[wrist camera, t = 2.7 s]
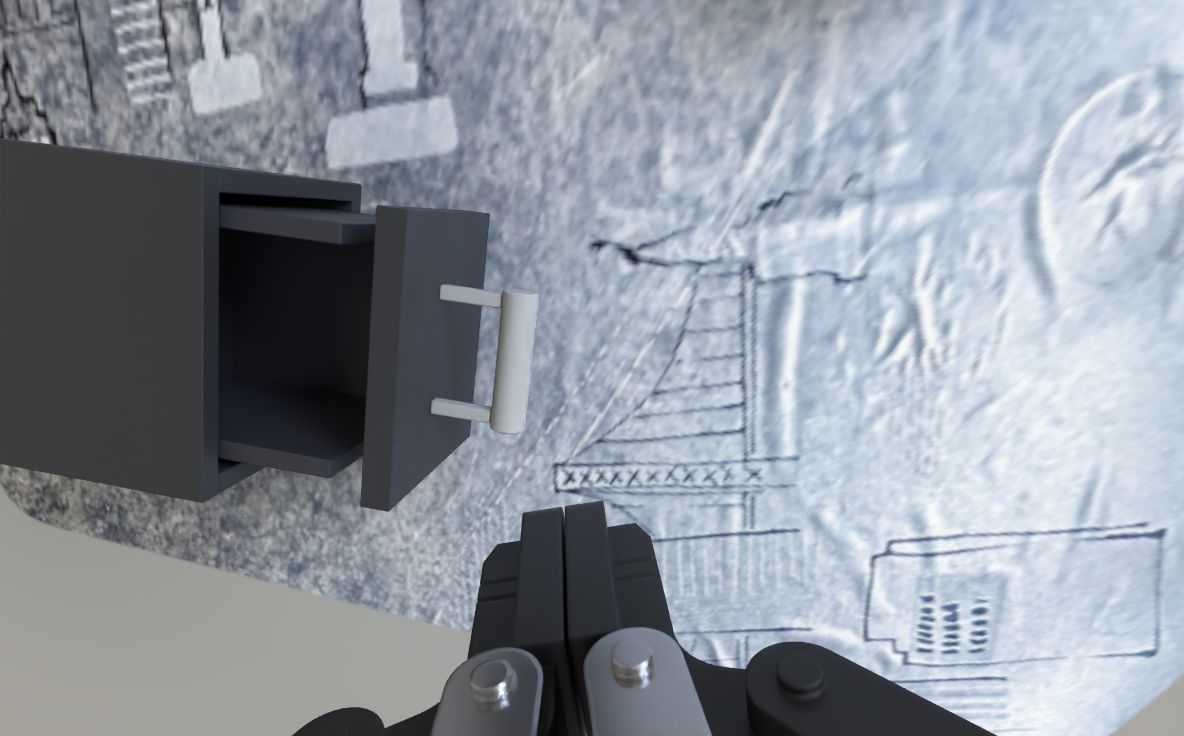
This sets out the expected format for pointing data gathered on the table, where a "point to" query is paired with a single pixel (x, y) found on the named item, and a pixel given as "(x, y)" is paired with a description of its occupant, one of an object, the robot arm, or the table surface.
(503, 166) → the table surface
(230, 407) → the dark grey drawer
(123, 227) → the grey drawer cabinet
